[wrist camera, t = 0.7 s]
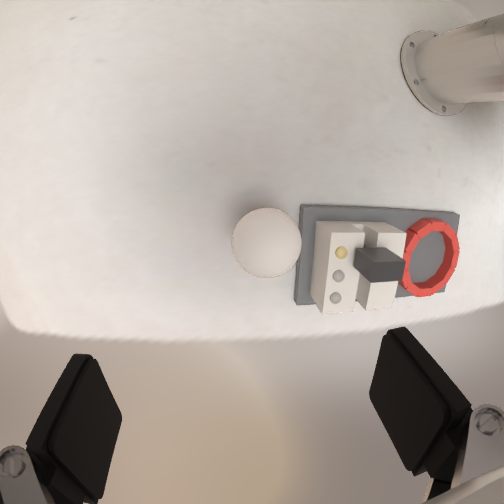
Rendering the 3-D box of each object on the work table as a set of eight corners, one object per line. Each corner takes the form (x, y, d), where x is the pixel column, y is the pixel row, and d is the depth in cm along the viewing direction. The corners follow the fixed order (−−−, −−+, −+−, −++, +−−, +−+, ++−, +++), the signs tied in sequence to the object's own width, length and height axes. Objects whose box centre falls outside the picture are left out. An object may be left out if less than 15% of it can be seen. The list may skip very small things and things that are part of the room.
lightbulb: (221, 206, 33) (221, 232, 22) (273, 187, 33) (297, 204, 22) (239, 255, 35) (248, 299, 25) (289, 237, 35) (318, 274, 24)
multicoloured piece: (453, 212, 36) (485, 224, 30) (438, 287, 40) (465, 307, 33) (300, 204, 34) (319, 217, 27) (294, 299, 38) (308, 329, 31)
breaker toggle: (371, 238, 32) (405, 260, 25) (369, 255, 33) (402, 280, 26) (343, 238, 32) (373, 262, 25) (341, 255, 32) (370, 282, 26)
